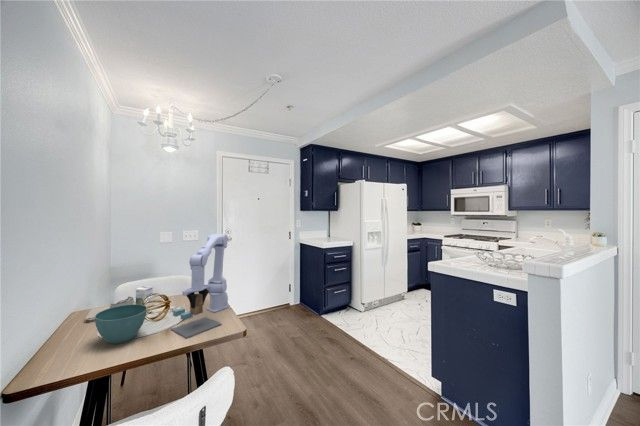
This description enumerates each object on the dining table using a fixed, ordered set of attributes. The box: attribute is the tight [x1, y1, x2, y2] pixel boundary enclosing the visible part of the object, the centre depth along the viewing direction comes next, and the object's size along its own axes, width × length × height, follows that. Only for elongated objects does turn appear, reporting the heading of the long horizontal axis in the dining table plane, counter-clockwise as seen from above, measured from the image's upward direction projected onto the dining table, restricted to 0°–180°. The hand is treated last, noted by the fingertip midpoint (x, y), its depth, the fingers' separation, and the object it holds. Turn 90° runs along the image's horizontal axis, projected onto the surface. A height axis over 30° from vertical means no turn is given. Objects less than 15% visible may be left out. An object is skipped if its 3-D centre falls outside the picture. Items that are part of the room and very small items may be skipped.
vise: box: [169, 306, 194, 321], centre depth 141 cm, size 5×17×2 cm, turn 56°
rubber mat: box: [170, 316, 222, 339], centre depth 126 cm, size 18×14×1 cm
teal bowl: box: [94, 303, 147, 345], centre depth 113 cm, size 18×18×12 cm
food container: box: [109, 296, 135, 308], centre depth 134 cm, size 12×6×10 cm, turn 179°
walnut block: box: [189, 292, 204, 316], centre depth 127 cm, size 4×4×9 cm
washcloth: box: [84, 305, 110, 324], centre depth 138 cm, size 12×18×3 cm, turn 35°
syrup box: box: [135, 285, 154, 305], centre depth 142 cm, size 6×6×14 cm
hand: (197, 306), depth 126 cm, fingers closed on walnut block, 4 cm apart
